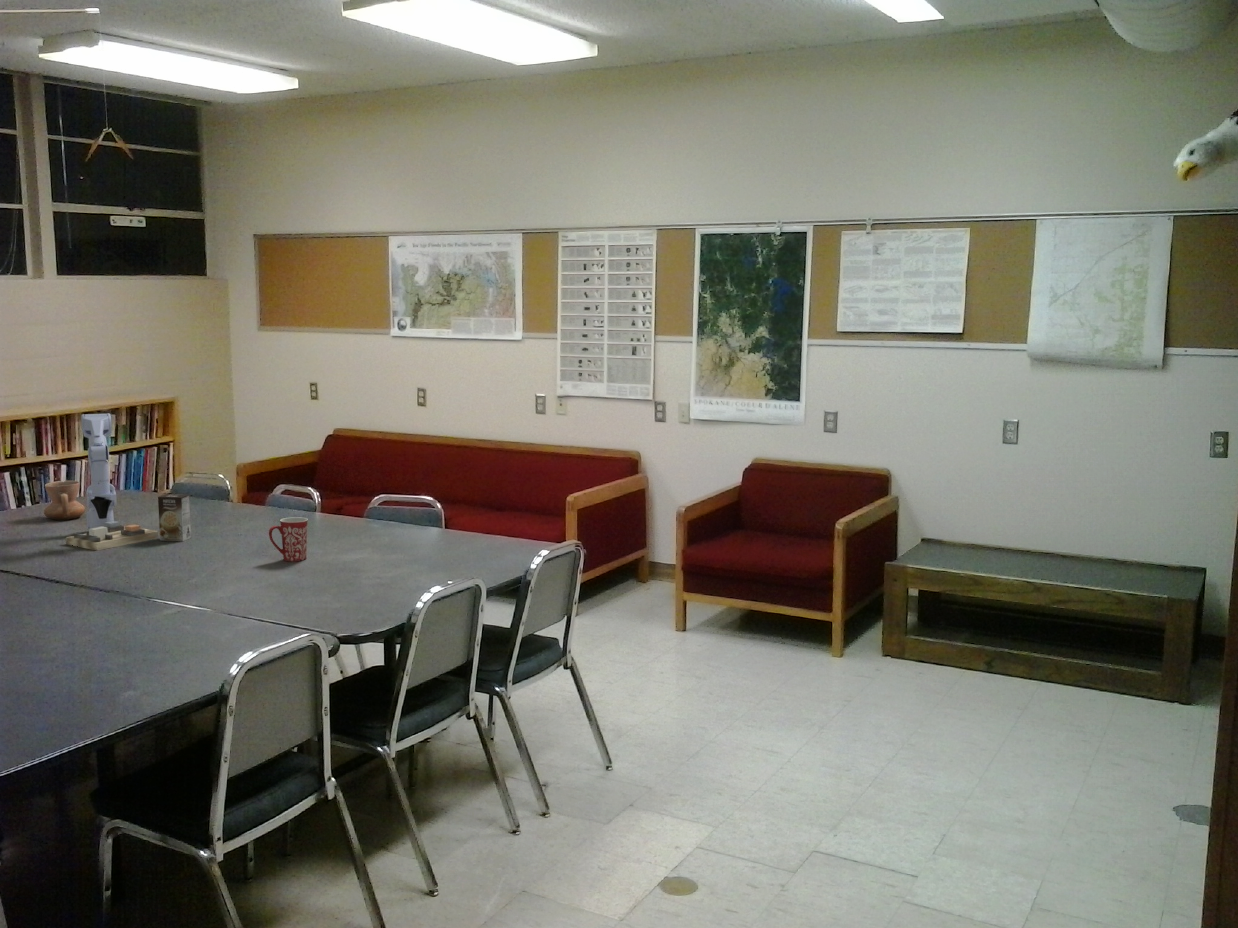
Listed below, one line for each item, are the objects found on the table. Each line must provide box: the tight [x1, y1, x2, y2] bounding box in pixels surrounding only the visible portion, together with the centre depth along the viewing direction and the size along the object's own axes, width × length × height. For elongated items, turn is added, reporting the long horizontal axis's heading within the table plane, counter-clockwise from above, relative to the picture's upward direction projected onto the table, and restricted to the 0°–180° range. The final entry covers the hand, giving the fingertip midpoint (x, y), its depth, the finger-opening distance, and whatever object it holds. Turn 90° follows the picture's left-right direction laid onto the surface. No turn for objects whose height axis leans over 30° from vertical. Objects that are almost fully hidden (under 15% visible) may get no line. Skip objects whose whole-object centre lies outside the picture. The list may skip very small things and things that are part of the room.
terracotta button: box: [124, 524, 141, 531], centre depth 387 cm, size 4×4×2 cm
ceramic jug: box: [43, 480, 86, 521], centre depth 426 cm, size 18×14×14 cm
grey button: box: [104, 520, 121, 528], centre depth 393 cm, size 4×4×2 cm
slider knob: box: [89, 527, 108, 540], centre depth 378 cm, size 3×5×4 cm, turn 149°
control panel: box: [65, 524, 159, 551], centre depth 387 cm, size 18×24×4 cm
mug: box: [268, 516, 309, 562], centre depth 360 cm, size 13×9×14 cm
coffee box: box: [157, 493, 192, 542], centre depth 390 cm, size 9×6×16 cm
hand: (102, 518), depth 381 cm, fingers closed
